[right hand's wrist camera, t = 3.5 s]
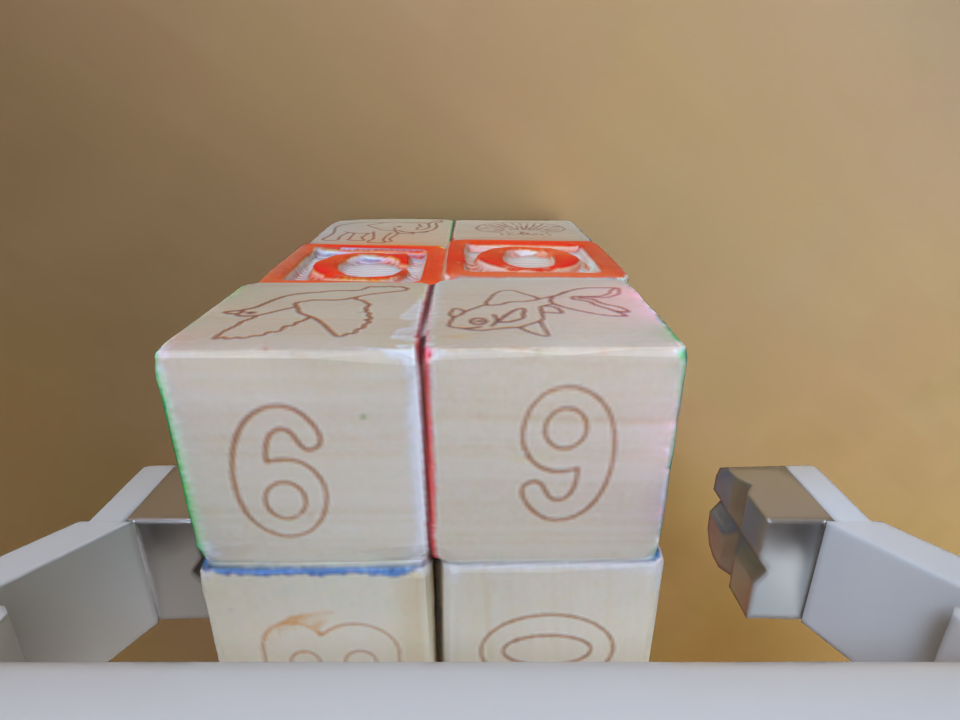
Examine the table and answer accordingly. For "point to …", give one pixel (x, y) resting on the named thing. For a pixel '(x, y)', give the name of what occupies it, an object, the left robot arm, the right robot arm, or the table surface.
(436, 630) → the stack of blocks
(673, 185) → the table surface
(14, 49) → the table surface
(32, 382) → the table surface
